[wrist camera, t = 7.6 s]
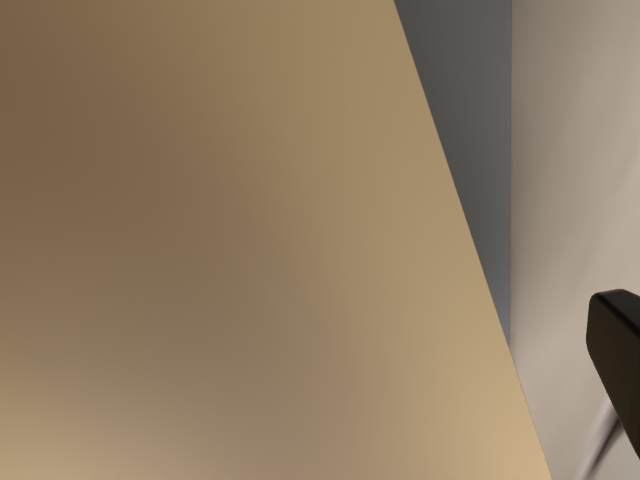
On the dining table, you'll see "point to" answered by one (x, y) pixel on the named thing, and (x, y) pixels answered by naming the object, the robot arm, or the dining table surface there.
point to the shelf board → (238, 253)
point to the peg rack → (471, 116)
